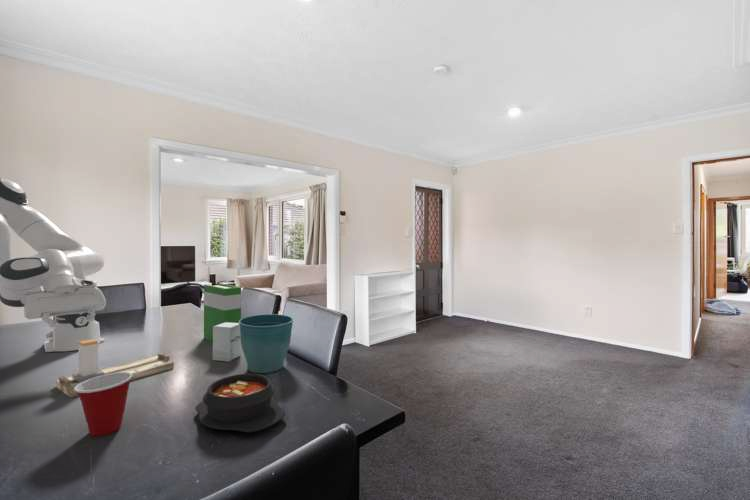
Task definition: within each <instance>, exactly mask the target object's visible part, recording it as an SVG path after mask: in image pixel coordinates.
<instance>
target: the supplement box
mask: <svg viewBox="0 0 750 500" xmlns="http://www.w3.org/2000/svg"><path fill="white" fill-rule="evenodd" d="M241 355H242V345H241V335H240V324H239V323H228V322H224V323H222V324H219V325H216V326H213V342H212V361H218V362H219V361H221V362H231V361H233V360H234V359H236V358H239V357H240V356H241Z"/></svg>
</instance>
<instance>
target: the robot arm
mask: <svg viewBox="0 0 750 500" xmlns="http://www.w3.org/2000/svg"><path fill="white" fill-rule="evenodd" d="M28 204H29V201H28V199H27V195H26V192H25V189H24V188H23V187H22V186H21V185H19V184H18V183H16V182H15V181H13V180H10V179H9V178H5V177H0V302H1V303H2V304H4V305H5V306H7V307H11V308H12V307H13V308H23V314H24V317H25V318H26V319H28V320H33V319H34V320H35V319H41V320H42V322H44V323H46V324H47V325H48V327H49V329H50V328H52V329H51V331H48V332H46V333H45V337H46V339H48V340H46V341H44V342H43V347H44V351H45V353H51V352H71V351H79V343H78V342H79V341H84V340H89V339H95V340H97V341H98V345H99V344H100V343H103V342H105V338H103V337H101V329H100V322H99V321H97V320H95V318H96V311H98V312H99V311H103V310H104V309H105V307H106V306H107V300H106V297H105V295H104V293H103V291H102V290H101V289H100V288H98V287H97V282H96V281H94V280H90V279H87V278H86V277H87V276H91V275H94V274H96V273H98V272H100V271H101V270H102V269H103V267H104V266H105V260H104V259H105V258H104V257H103V256H102V254H100V252H98V251H95V250H93V249H90V248H89V247H87V246H85V245H84V244H82V242H79V241H78V240H76V239H74V238H73V237H71V236H69V235H68V234H66V233H65V232H64V231H63V230H62V229H61V228H59V227H58V226H57V225H56V224H55V223H54V222H53V221H51V220H50V219H49V218H48V217H47V216H45V215H44V214H43V213H41V212H40V211H38V210H37V209H35V208H34V207H32V206H30V205H28ZM10 229H11V230H12V231H13V232H14V233H15V234H16V235H17V236H18V237H19V238H21V239H22V241H24V242H25V243H26V244H28V246H29V247H31V249H33V250H34V251H36V252H37V253H36V254H34V255H31V256H28V257H15V258H13V254H12V241H11V237H12V236H11V230H10ZM42 288H43V290H42ZM51 317H55V319H52V318H51Z"/></svg>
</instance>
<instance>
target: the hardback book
mask: <svg viewBox="0 0 750 500" xmlns="http://www.w3.org/2000/svg"><path fill="white" fill-rule="evenodd" d="M241 319H242V287H241V286H237V285H231V284H226V283H225V284H224V283H220V282H219V283H217V284H216V285H209V284H203V339H204V338H205V340H207V339H208V340H207V341H209V340H210V342H212V341H213V326H216V325H219V324H222V323H224V322H228V323H239V320H241Z"/></svg>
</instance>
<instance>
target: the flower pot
mask: <svg viewBox="0 0 750 500" xmlns="http://www.w3.org/2000/svg"><path fill="white" fill-rule="evenodd" d="M293 323H294V318H293V317H292V316H289V315H285V314H276V313H274V314H272V313H271V314H269V313H267V314H263V313H262V314H255V315H250V316H245V317H243V318H242V317H241V320H239V324H240V335H241V351H242V354H243V356H244V357H245V362H246V364H247V365H246V367H247V370H248V371H249V372H251V373H253V374H268V373H269V374H271V373H274V371H275V372H278V371H279V369H280V370H281V369H282V368H283V367H284V362H285V359H286V356H287V353H288V351H289V348H290V344H291V339H292V329H293Z"/></svg>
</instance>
